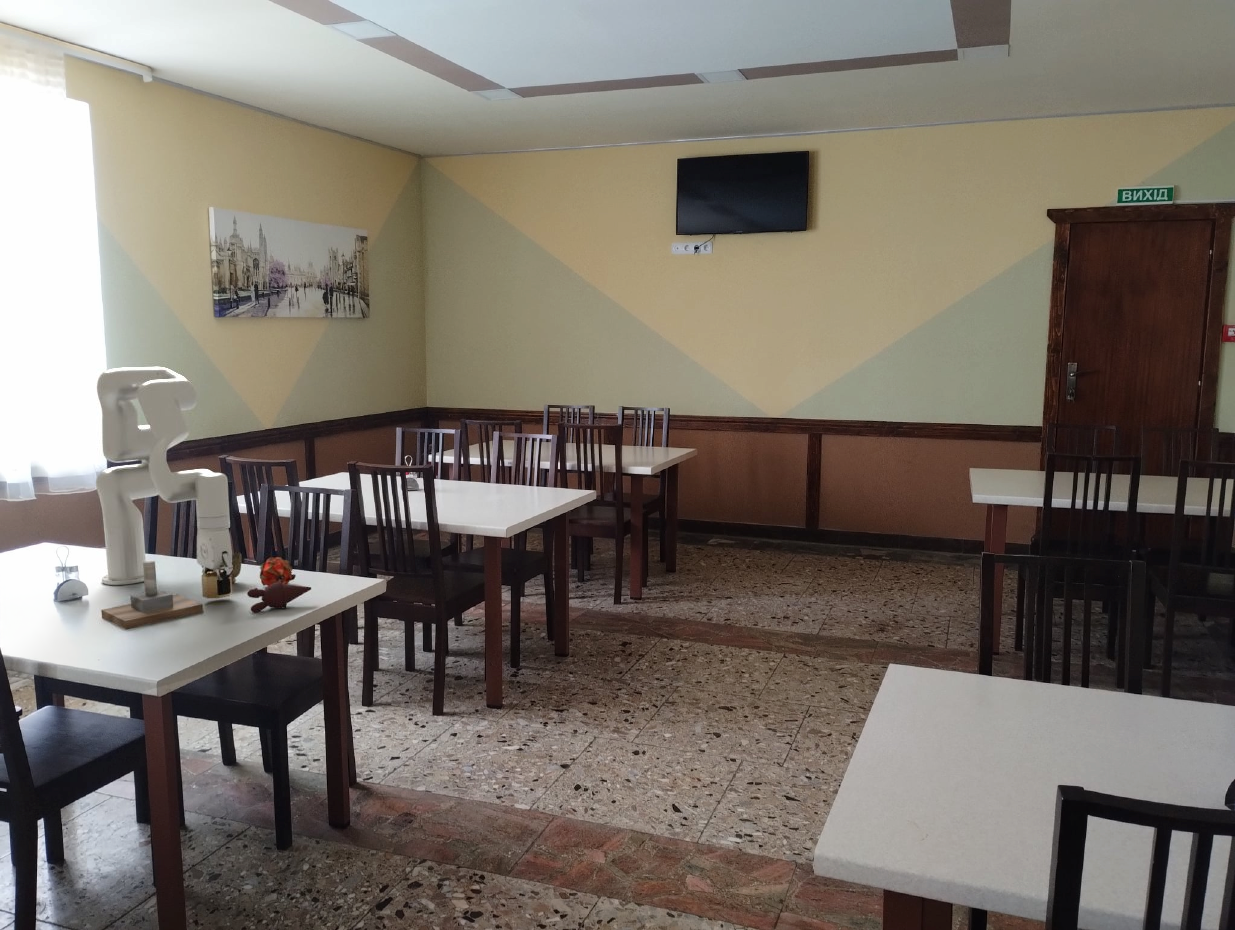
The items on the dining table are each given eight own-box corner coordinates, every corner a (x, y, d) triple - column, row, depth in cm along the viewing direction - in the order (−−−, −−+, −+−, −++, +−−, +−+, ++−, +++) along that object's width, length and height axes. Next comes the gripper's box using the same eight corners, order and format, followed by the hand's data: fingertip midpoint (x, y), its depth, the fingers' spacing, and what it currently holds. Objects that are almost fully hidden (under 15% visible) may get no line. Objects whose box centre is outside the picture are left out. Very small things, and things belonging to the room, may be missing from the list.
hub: (199, 595, 240) (197, 573, 239) (223, 589, 245) (222, 569, 244) (211, 599, 236) (209, 578, 235) (236, 594, 241) (234, 573, 240)
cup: (248, 580, 261) (246, 552, 260) (235, 587, 254) (233, 558, 252) (222, 580, 262) (220, 551, 260) (208, 587, 254) (206, 558, 253)
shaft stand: (101, 617, 227) (97, 564, 225) (177, 601, 240) (173, 551, 239) (125, 629, 218) (121, 574, 216) (203, 612, 231) (199, 559, 229)
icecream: (305, 574, 241) (243, 588, 234) (311, 573, 235) (248, 587, 227) (311, 601, 241) (249, 616, 233) (317, 601, 234) (253, 616, 227)
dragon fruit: (275, 586, 261) (284, 603, 251) (248, 572, 256) (256, 588, 246) (294, 560, 261) (303, 576, 251) (267, 546, 257) (275, 561, 247)
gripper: (183, 519, 240) (187, 588, 243) (215, 529, 229) (219, 601, 232) (211, 515, 246) (215, 582, 249) (244, 525, 235) (248, 595, 237)
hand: (217, 591), depth 240 cm, fingers closed on hub, 6 cm apart
